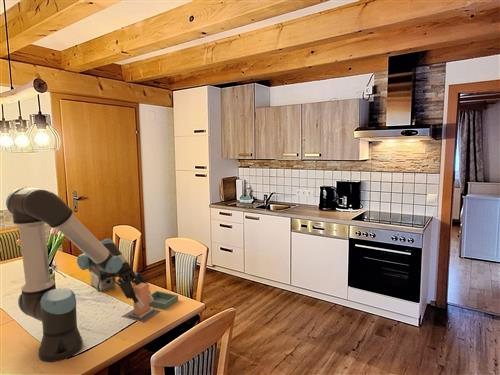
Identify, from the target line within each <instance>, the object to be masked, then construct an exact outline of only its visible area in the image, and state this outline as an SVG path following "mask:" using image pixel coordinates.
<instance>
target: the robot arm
mask: <svg viewBox="0 0 500 375" xmlns="http://www.w3.org/2000/svg"><path fill="white" fill-rule="evenodd" d="M5 206H6V209H7V211H8V212H9V213H10V214H12V221H13V224H14V225H15V226H17V227H18V230H19V239H20V248H21V256H22V263H23V273H24V282H25V283H24V284H23V286H22V287H21V294H20V295H19V297H18V300H17V304H18V307H19V310H20V311H21V312H22V313H23V314H25V315H26V316H29V317H32V318H34V319H36V320H38V321H39V322H41V324H42V338H41V342H40V346H39V348H38V358H39V359H40V360H42V361H44V362H57V361H62V360H65V359H68V358H70V357H72V356H74V355H76V354H77V353H78V352H79V351H80V350H81V349H82V348H83V344H84V343H83V336H82V335H81V333H80V330H79V328H78V322H77V321H78V320H77V318H78V317H77V297H76V294H75V292H74V291H73V290H71V289H70V288H69V289H68V288H60V287H59V288H56V281H55V280H54V279H52V278H51V274H50V262H49V255H48V254H49V253H48V245H47V244H48V243H47V234H46V226H45V224H47V225H48V226H49V227H50V228H52V229H57V231H59V232H60V233H61V234H63V235H64V237H66V239H68V241H69V242H71V243H72V244H73V245H75V247H77V248H78V250H80V251H81V252H82V253H81V254H79V255H78V256H77V258H76V263H77V266H78V267H79V269H80V270H82V271H85V270H88V269H89V268H91V267H92V268H95V269H99V270H102V271H106V272H108V273H115V274H116V275H117V277H116V278H118V279H117V280H116V285H117V286H119V288H120V290H121V291H122V293H123V295H124V296H125V297H126V299H127V300H128V299H129V300H132V301H133V303H134V302H135V303H136V304H137V305H138V306H139V308H140V309H141V308H142V307H143V306H144V304H143V302H142V301H141V299H140V298H139V297H138V295H137V294H136V295H135V293H134V290H133V288H132V285H131V283H135V284H136V285H139V284H140V283H146V284H149V283H148V282H147V281H146V279H145V278H144V276H143V275H142V274H141V272H140V270H136V271H134V270H133V269H132V266H131V264H130V263H129V262H128V261H127V259H126V257H125V256H124V255H123V253H122V252H121V250H120V249H119V248H118V246H117V245H116V243H115V242H114V240H112V238H105V239H103V240H101V241H100V240H99V239H98V238H97V237H96V236H95V235H94V234H93V233H92V232H91V231H90V230H89V229H88V228H86V226H85V225H84V224H83V223H82V222H81V221H80V220H79V219H78V218H77V217H76V216H75V215H74V210H73V209H72V208H71V207H70V206H69V205H68V204H67V203H66V202H65V201H64V200H63V199H61V197H59V196H58V195H57V194H55V193H54V192H53V191H51V190H49V189H45V188H38V187H37V188H35V187H33V186H32V187H31V186H30V187H29V186H28V187H27V186H25V187H23V186H22V187H18V188H16V189H14V190H12V191H11V192H10V193H9V194H8V196H7V198H6V201H5ZM151 294H152V293H151V292H150V291H149V302H150V303H151V302H152V301H153V300H154V299H153V297H152V296H151Z"/></svg>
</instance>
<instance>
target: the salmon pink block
mask: <svg viewBox="0 0 500 375" xmlns="http://www.w3.org/2000/svg"><path fill="white" fill-rule="evenodd" d="M149 286H150V284H149V283H148V284H146V283H140V284H139V285H137V286H135V287H133V290H134V293H135V295H136V294H137V295H138V297H139V298H140V299H141V301H142V302H143V304H144V306H143V307H142V308H141V309H140V308H139V306H138V305H137V304H136V303H135V302H134V301H133V309H134V315H137V316H141V315H142V314H144V313H145V312H147V311H149V308H150V306H149V292H150V291H149V290H150V287H149Z"/></svg>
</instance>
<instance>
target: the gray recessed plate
mask: <svg viewBox="0 0 500 375" xmlns="http://www.w3.org/2000/svg"><path fill="white" fill-rule="evenodd" d="M161 312H162V311H161V310H160V309H159V310H158V309H155V307H151V308H150V307H149V311H147V312H145V313H144V314H142V315H141V316H137V315H134V308H133V309H132V310H130V311H128V312H127V313H125V314H123V315H121V316H120V317H121V318H125V319H128V320H132V321H136V322H141V323H143V324H145V323H146V322H148V321H149V320H151V319H152V318H154V317H155V316H157V315H158V314H159V313H161Z"/></svg>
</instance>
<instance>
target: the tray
mask: <svg viewBox="0 0 500 375" xmlns="http://www.w3.org/2000/svg"><path fill="white" fill-rule="evenodd" d="M151 296H152V297H153V299H154V300H153V301H152V302H151V303H150V302H149V307H151V308H154V309H155V308H156V309H159V310H160V309H161V310H163V311H165V310H167V309H168V308H170V307H172V305H173V306H174V304H176V303H178V301H179V294H174V293H170V292H169V293H168V292H164V291H162V290H161V291H160V290H155V291H154V292H152V293H151Z"/></svg>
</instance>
